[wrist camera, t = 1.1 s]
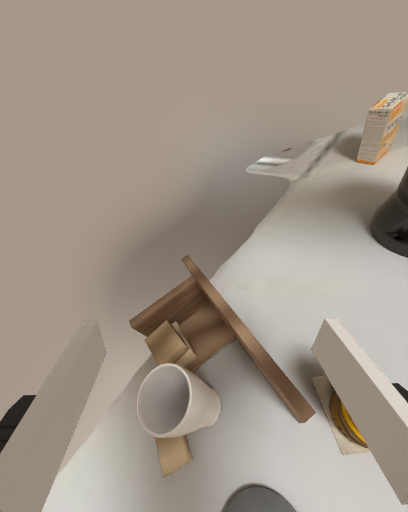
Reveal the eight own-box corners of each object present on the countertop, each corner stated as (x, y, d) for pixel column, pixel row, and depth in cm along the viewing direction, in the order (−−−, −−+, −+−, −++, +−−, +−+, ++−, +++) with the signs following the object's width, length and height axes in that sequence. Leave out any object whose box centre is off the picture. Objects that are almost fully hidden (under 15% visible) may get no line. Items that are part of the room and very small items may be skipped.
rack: (305, 417, 28) (316, 412, 17) (222, 493, 27) (167, 548, 15) (212, 296, 45) (184, 251, 33) (156, 338, 43) (106, 306, 31)
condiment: (342, 454, 25) (369, 471, 17) (310, 377, 31) (318, 359, 22) (407, 446, 24) (473, 458, 15) (361, 367, 30) (391, 343, 21)
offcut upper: (189, 348, 35) (184, 344, 33) (167, 370, 34) (160, 367, 32) (172, 324, 39) (166, 319, 37) (151, 344, 38) (144, 340, 36)
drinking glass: (231, 390, 33) (201, 373, 22) (218, 443, 30) (176, 454, 19) (195, 375, 36) (153, 354, 25) (179, 421, 33) (123, 419, 22)
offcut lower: (198, 356, 37) (192, 352, 35) (171, 378, 36) (163, 375, 34) (182, 326, 41) (175, 321, 39) (157, 345, 41) (149, 340, 38)
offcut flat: (193, 459, 30) (188, 461, 28) (169, 474, 30) (163, 477, 28) (176, 399, 35) (171, 398, 34) (156, 412, 35) (150, 411, 34)
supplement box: (374, 165, 54) (392, 109, 44) (355, 162, 57) (368, 108, 47) (391, 148, 55) (413, 91, 46) (371, 146, 58) (387, 91, 49)
